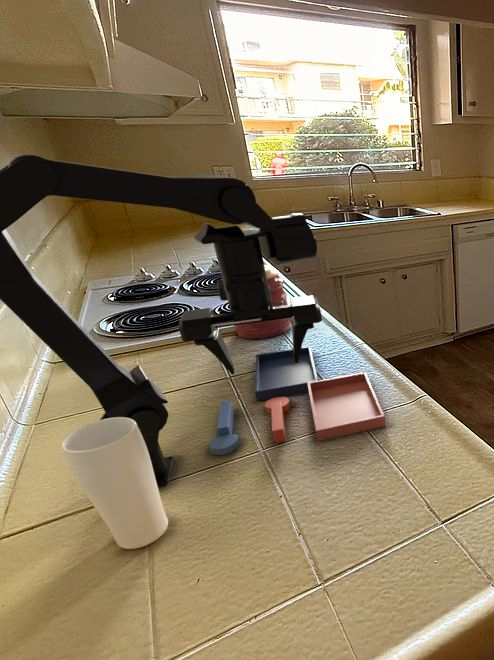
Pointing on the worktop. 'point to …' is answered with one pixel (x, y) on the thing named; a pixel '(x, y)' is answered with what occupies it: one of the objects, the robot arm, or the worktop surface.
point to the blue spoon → (224, 431)
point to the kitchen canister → (279, 299)
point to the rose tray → (344, 406)
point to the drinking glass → (118, 479)
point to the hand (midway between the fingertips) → (265, 367)
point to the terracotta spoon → (278, 416)
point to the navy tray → (283, 373)
